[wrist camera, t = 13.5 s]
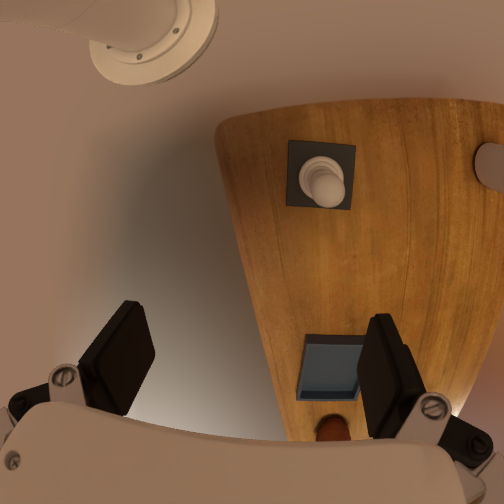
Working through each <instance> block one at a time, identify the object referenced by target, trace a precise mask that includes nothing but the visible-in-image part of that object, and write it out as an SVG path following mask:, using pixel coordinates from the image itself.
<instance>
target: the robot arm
mask: <svg viewBox="0 0 504 504" xmlns="http://www.w3.org/2000/svg"><path fill="white" fill-rule="evenodd" d="M191 15H192V7H191V3H190V0H0V22H15V23H25V24H31V25H36V26H41V27H45V28H50V29H54V30H58V31H62V32H66V33H69V34H73V35H77V36H80V37H84V38H87V39H90V40H93V41H97V42H100V43H103V46H104V48H105V50H106V52H107V53H108V54H109V55H110V57H112V58H113V59H115V60H117V61H119V62H122V63H126V64H142V63H147V62H150V61H153V60H155V59H157V58H159V57H161V56H162V55H164V54H165V53H167V52H168V51H170V50H171V49H172V48H173V47H174V46H175V45H176V44H177V43H178V42H179V41H180V39H181V38H182V37H183V35H184V34H185V32H186V30H187V28H188V26H189V23H190V20H191ZM177 32H179V33H177ZM141 58H142V59H141ZM154 358H155V349H154V346H153V343H152V339H151V335H150V332H149V328H148V324H147V320H146V316H145V312H144V308H143V306H141V305H140V303H139V302H137V301H128V300H126V301H124V302H123V304H122V305H121V306H120V307H119V309H118V310H117V311H116V312H115V314H114V315H113V316H112V317H111V319H110V320H109V321H108V323H107V324H106V325H105V327H104V328H103V329H102V330H101V332H100V333H99V334H98V336H97V337H96V338H95V340H94V341H93V342H92V343H91V345H90V346H89V348H88V349H87V350H86V352H85V353H84V354H83V356H82V357H81V358H80V360H79V361H78V362H79V364H78V366H77V367H76V366H75V365H72V364H62V365H59V366H57V367H56V368H54V369H53V371H52V372H51V373H50V375H49V379H48V381H49V382H48V383H45V384H42V385H39V386H36V387H33V388H30V389H27V390H24V391H21V392H18V393H16V394H15V395H14V396H13V397H12V398H11V399H10V401H9V404H8V408H7V409H6V408H5V407H3V408H1V409H0V504H504V456H502V455H501V453H500V452H499V451H498V452H497V453H495V452H494V451H493V442H492V439H491V437H490V436H489V435H488V434H487V433H485V432H484V431H482V430H480V429H478V428H476V427H474V426H472V425H470V424H469V423H467V422H465V421H463V420H461V419H459V418H457V417H455V416H453V415H452V414H451V411H452V407H451V404H450V402H449V400H448V399H447V398H446V397H445V396H444V395H442V394H440V393H437V392H426V389H425V387H424V384H423V381H422V379H421V376H420V374H419V371H418V369H417V366H416V364H415V361H414V359H413V356H412V354H411V352H410V349H409V347H408V346H407V345H406V344H403V342H402V340H401V337H400V335H399V333H398V330H397V328H396V326H395V324H394V321H393V319H392V317H391V315H390V314H389V313H385V314H376V315H375V316H374V317H371V319H370V322H369V325H368V329H367V333H366V337H365V340H364V344H363V347H362V351H361V354H360V357H359V361H358V364H357V375H358V380H359V384H360V390H361V395H362V400H363V405H364V411H365V416H366V422H367V428H368V434H369V437H373V439H368V440H353V441H326V442H289V441H267V440H253V439H241V438H231V437H223V436H215V435H208V434H202V433H196V432H190V431H184V430H179V429H174V428H168V427H164V426H159V425H155V424H150V423H146V422H142V421H138V420H134V419H131V418H127V417H123V415H124V416H125V415H127V413H128V411H129V409H130V407H131V405H132V403H133V401H134V399H135V397H136V395H137V393H138V391H139V389H140V387H141V384H142V383H143V380H144V379H145V377H146V375H147V372H148V370H149V369H150V367H151V365H152V363H153V361H154Z"/></svg>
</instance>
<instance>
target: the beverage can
mask: <svg viewBox="0 0 504 504" xmlns="http://www.w3.org/2000/svg"><path fill="white" fill-rule="evenodd" d="M475 171H476V174H477V177H478V179H479V180H480V182H481V183H482V184H483V185H485V186H487V187H489V188H491V189H494V190H496V191H498V192H500V193H503V194H504V145H500V144H495V143H485V144H483V145H482V146H481V147H480V148H479V149H478V151H477V154H476V157H475Z"/></svg>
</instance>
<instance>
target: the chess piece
mask: <svg viewBox="0 0 504 504" xmlns="http://www.w3.org/2000/svg"><path fill="white" fill-rule="evenodd" d="M343 181H344V177H343V172H342V169H341V167H340V166H339V165H338V163H337V162H335V161H334V160H333V159H331V158H329V157H324V156H317V157H313V158H311V159H309V160H308V161H306V162H305V163H304V165H303V166H302V168H301V170H300V173H299V184H300V187H301V189H302V190H303V192H304V193H305V194H306V195H307V196H309V197H310V198H312V199H314V201H315V202H316V203H317V204H318V205H320V206H322V207H326V208H331V207H335V206H337V205H339V204H340V203H341V202H342V200H343V199H344V195H345V187H344V184H343Z"/></svg>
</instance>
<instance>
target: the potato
mask: <svg viewBox="0 0 504 504" xmlns="http://www.w3.org/2000/svg"><path fill="white" fill-rule="evenodd" d="M326 441H351V437H350V434H349V430H348V427H347V425H346V424H345V423H344V422H343V421H342V420H341V419H339V418H337V417H333V418H330V419H328V420H326V421H325V422H324V423H323V425H322V426H321V428H320V429H319V431H318V434H317V437H316V442H326Z"/></svg>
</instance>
